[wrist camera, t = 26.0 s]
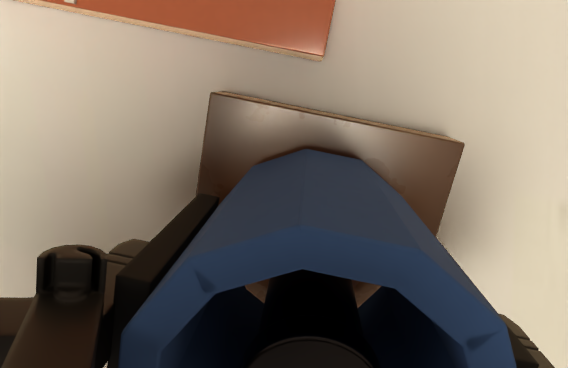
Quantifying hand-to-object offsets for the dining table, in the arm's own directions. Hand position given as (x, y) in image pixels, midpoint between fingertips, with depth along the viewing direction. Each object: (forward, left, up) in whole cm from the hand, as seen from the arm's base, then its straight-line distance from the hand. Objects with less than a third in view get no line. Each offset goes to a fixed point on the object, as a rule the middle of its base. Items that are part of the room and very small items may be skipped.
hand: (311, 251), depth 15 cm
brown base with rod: (0, 0, -4) cm, 4 cm away
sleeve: (0, 0, 0) cm, 0 cm away
